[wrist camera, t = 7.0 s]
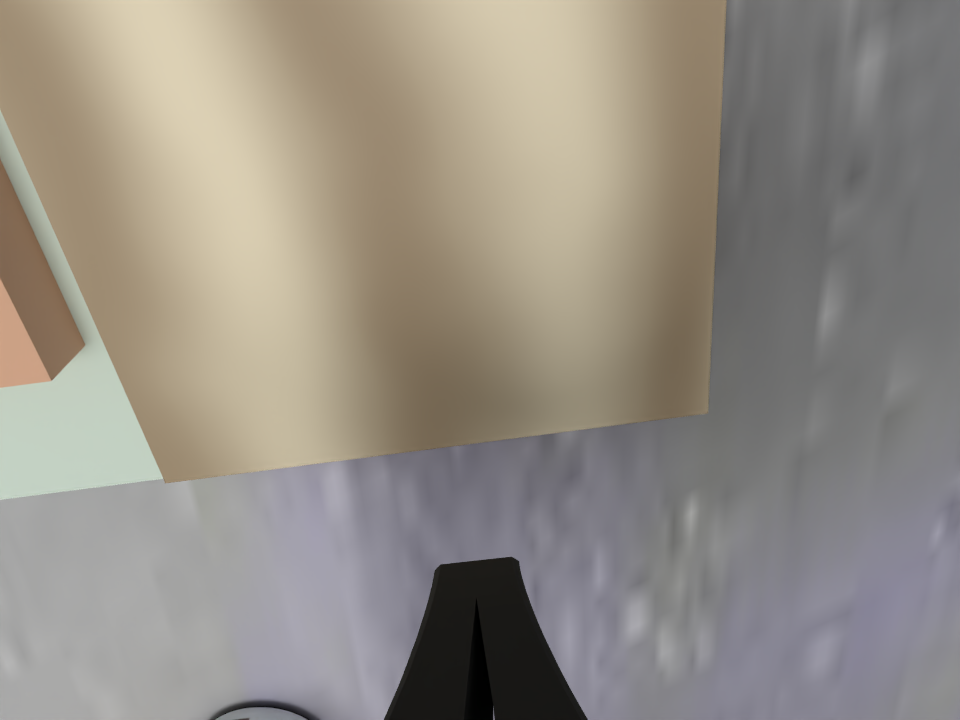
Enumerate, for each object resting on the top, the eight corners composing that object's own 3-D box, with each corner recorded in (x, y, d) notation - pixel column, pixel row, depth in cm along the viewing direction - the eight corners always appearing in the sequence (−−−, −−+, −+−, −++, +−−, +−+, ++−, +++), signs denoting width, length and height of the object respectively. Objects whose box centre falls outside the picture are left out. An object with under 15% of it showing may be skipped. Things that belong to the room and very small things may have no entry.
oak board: (668, -258, 14) (740, -331, 11) (664, 340, 21) (708, 413, 18) (1, -160, 15) (-137, -200, 11) (210, 400, 21) (165, 483, 18)
